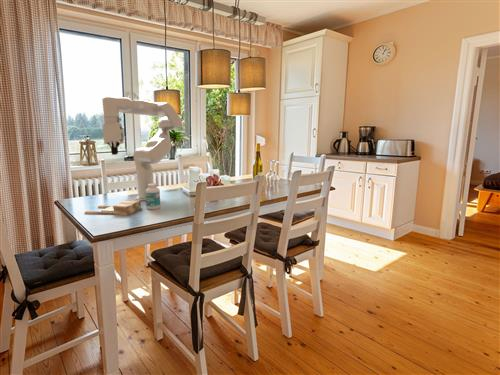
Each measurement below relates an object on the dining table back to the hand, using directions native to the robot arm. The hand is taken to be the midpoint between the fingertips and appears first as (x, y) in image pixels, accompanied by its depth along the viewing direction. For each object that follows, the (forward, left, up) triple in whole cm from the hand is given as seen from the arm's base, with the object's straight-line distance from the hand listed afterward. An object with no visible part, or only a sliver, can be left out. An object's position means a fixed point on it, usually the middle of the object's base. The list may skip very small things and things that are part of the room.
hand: (114, 154), depth 170 cm
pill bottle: (+4, +22, -29) cm, 37 cm away
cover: (+12, +6, -30) cm, 33 cm away
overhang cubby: (+12, +3, -29) cm, 31 cm away
